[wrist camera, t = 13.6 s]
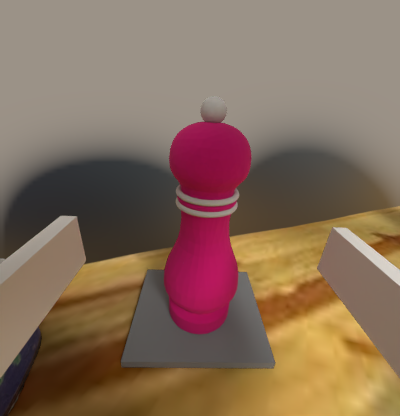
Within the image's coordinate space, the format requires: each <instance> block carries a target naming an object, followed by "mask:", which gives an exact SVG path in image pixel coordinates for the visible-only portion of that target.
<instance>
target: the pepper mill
mask: <svg viewBox="0 0 400 416" xmlns="http://www.w3.org/2000/svg"><path fill="white" fill-rule="evenodd" d="M226 113H227V107H226V105H225V102H224V101H223V100H222V99H221V98H219V97H215V96H212V97H209V98H207V99H206V100H205V101H204V102H203V104H202V106H201V116H202V118H203V120H204V121H205V122H198V123H194V124H191V125H189V126H187V127H185V128H184V129H183V130H181V131H180V132H179V133H178V134H177V136H176V137H175V138H174V140H173V142H172V145H171V148H170V156H169V161H170V168H171V171H172V173H173V175H174V176H175V178H176V179H177V180H178V181H179V182H180V185H179V186H178V187H177V188H176V194H177V198H176V205H177V206H178V208H179V209H180V210H181V216H182V218H181V227H180V232H179V236H178V239H177V241H176V243H175V245H174V247H173V248H172V250H171V252H170V254H169V256H168V259H167V262H166V266H165V269H164V286H165V289H166V292H167V294H168V295H169V311H170V315H171V318H172V319H173V321H174V322H175V324H176V325H177V326H178V327H180V328H181V329H182V330H184V331H187V332H189V333H192V334H207V333H210V332H213V331H215V330H216V329H218V328H219V327H220V326H221V325H222V324H223V323H224V321H225V320H226V318H227V314H228V309H229V302H230V301H231V300H232V299H233V297H234V295H235V293H236V290H237V286H238V268H237V262H236V259H235V256H234V253H233V250H232V247H231V243H230V238H229V221H230V216H231V214H232V213H233V212H234V211H235V210H236V209H237V206H238V204H237V199H238V197H239V192H238V190H237V189H236V187H237V186H238V185H239V184H240V183H241V182H243V180H245V178H246V177H247V175H248V173H249V169H250V165H251V150H250V146H249V143H248V141H247V139H246V138H245V136H244V135H243V134H242V133H241V132H240V131H239V130H238V129H236V128H234V127H233V126H230V125H228V124H225V123H221V122H222V121H223V120H224V118H225V116H226Z"/></svg>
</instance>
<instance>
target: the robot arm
mask: <svg viewBox="0 0 400 416" xmlns="http://www.w3.org/2000/svg"><path fill="white" fill-rule="evenodd" d="M85 261H86V257H85V253H84V248H83V244H82V239H81V235H80V230H79V225H78V221H77V217H76V216H60V217H59V218H58V219H56V220H55V221H54V222H53V223H51V224H50V225H49V226H47V227H46V228H45V229H44V230H43V231H41V232H40V233H39V234H37V235H36V236H35V237H34V238H32V239H31V240H30V241H28V242H27V243H26V244H25V245H23V246H22V247H21V248H20V249H18V250H17V251H16V252H15V253H13V254H12V255H11V256H10V257H8V258H7V259H6V260H4V261H3V262H2V263H1V264H0V378H1V377H2V375H3V374H4V373H5V371H6V370H7V369H8V367H9V366H10V364H11V363H12V362H13V360H14V359H15V358H16V356H17V355H18V353H19V352H20V351H21V349H22V348H23V347H24V345H25V344H26V342H27V341H28V340H29V338H30V337H31V336H32V334H33V333H34V331H35V330H36V329H37V327H38V326H39V325H40V323H41V322H42V320H43V319H44V318H45V316H46V315H47V314H48V312H49V311H50V309H51V308H52V307H53V305H54V304H55V303H56V301H57V300H58V299H59V297H60V296H61V294H62V293H63V292H64V290H65V289H66V288H67V286H68V285H69V283H70V282H71V281H72V279H73V278H74V277H75V275H76V274H77V272H78V271H79V270H80V268H81V267H82V266H83V264H84V263H85ZM317 269H318V270H319V272H320V273H321V274H322V276H323V277H324V278H325V280H326V281H327V282H328V284H329V285H330V286H331V288H332V289H333V290H334V292H335V293H336V294H337V296H338V297H339V298H340V300H341V301H342V302H343V304H344V305H345V306H346V308H347V309H348V310H349V312H350V313H351V314H352V316H353V317H354V318H355V320H356V321H357V322H358V324H359V325H360V326H361V328H362V329H363V330H364V332H365V333H366V334H367V336H368V337H369V338H370V340H371V341H372V342H373V343H374V345H375V346H376V347H377V349H378V350H379V351H380V353H381V354H382V355H383V357H384V358H385V359H386V361H387V362H388V363H389V365H390V366H391V367H392V369H393V370H394V371H395V373H396V374H397V375H398V377H399V378H400V270H399V269H398V268H396V267H395V266H394V265H393V264H391V263H390V262H389V261H388V260H386V259H385V258H384V257H383V256H381V255H380V254H379V253H378V252H376V251H375V250H374V249H373V248H371V247H370V246H369V245H367V244H366V243H365V242H364V241H362V240H361V239H360V238H359V237H357V236H356V235H355V234H354V233H352V232H351V231H350V230H349V229H347V228H336V227H332V230H331V232H330V235H329V238H328V240H327V243H326V246H325V248H324V251H323V254H322V256H321V259H320V262H319V264H318V267H317Z"/></svg>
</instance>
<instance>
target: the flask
mask: <svg viewBox="0 0 400 416" xmlns="http://www.w3.org/2000/svg"><path fill="white" fill-rule="evenodd" d="M4 260H6V259H0V264H1V263H2V262H3V261H4ZM41 339H42V338H41V332H40V329H39V327H37V329H36V330H35V331H34V333H33V334H32V336H31V337H30V338H29V340H28V341H27V342H26V344H25V345H24V347H23V348H22V349H21V351H20V352H19V353H18V355H17V356H16V358H15V359H14V360H13V362H12V363H11V364H10V366H9V367H8V369H7V370H6V371H5V373H4V374H3V375H2V377H1V378H0V416H8V413H10V411H11V409H12V408H13V407H14V404H15V403H16V401H17V400H18V396H19V394H20V392H21V391H22V389H23V387H24V383H25V380H26V378H27V376H28V374H29V372H30V369H31V367H32V365H33V363H34V360H35V358H36V356H37V353H38V349H39V348H40V344H41Z"/></svg>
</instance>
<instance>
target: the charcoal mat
mask: <svg viewBox="0 0 400 416" xmlns="http://www.w3.org/2000/svg"><path fill="white" fill-rule="evenodd" d="M274 365H275V360H274V357H273V354H272V351H271V348H270V344H269V341H268V338H267V335H266V332H265V329H264V325H263V322H262V319H261V316H260V313H259V310H258V306H257V303H256V300H255V297H254V294H253V291H252V287H251V284H250V281H249V278H248V275H247V272H238V286H237V290H236V293H235V295H234V297H233V299H232V300H231V301H230V302H229V309H228V314H227V318H226V320H225V321H224V323H223V324H222V325H221V326H220V327H219V328H218V329H216V330H215V331H213V332H210V333H207V334H192V333H189V332H187V331H184V330H182V329H181V328H180V327H178V326H177V325H176V324H175V322H174V321H173V319H172V318H171V315H170V311H169V295H168V294H167V292H166V289H165V286H164V270H147V274H146V277H145V281H144V284H143V287H142V291H141V294H140V298H139V301H138V304H137V308H136V311H135V315H134V318H133V321H132V325H131V328H130V332H129V335H128V339H127V342H126V345H125V349H124V352H123V356H122V359H121V366H122V367H156V368H274Z"/></svg>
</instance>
